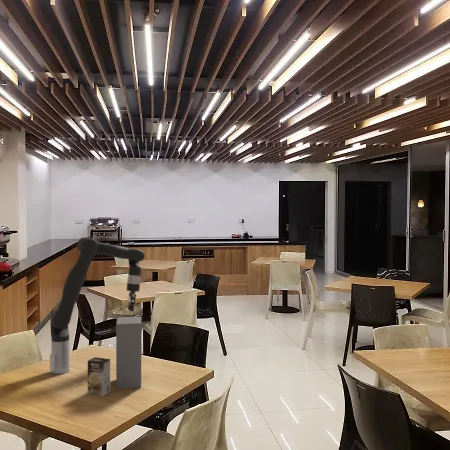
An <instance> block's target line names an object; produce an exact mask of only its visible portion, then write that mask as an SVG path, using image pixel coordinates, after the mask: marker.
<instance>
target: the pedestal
mask: <svg viewBox="0 0 450 450" xmlns="http://www.w3.org/2000/svg"><path fill="white" fill-rule="evenodd" d="M115 328H116V329H115V331H116V333H115V337H116V339H115V341H116V343H115V345H116V348H115V349H116V350H115V354H116V356H115V357H116V360H115V361H116V362H115V363H116V364H115V366H116V367H115V371H116V372H115V375H116V376H115V377H116V380H115V381H116V382H115V383H116V390H123V389H124V390H125V389H126V390H127V389H129V390H130V389H131V390H132V389H141V388H142V316H120V317H117V320H116V325H115Z"/></svg>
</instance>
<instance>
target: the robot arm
mask: <svg viewBox="0 0 450 450" xmlns="http://www.w3.org/2000/svg"><path fill="white" fill-rule="evenodd" d="M76 248H77V250H78V251H79V252H80V253H79V256H78V258H77V261H76V263H75V264H74V265H73V267H72V268H71V269H70V271H69V273H68V275H67V276H66V278H65V282H64V285H63V289H62V297H61V301H60V303H59V307H58V309H57V310H55V311H53V312H52V314H51V316H50V339H51V354H49V372H50V373H51V374H53V375H62V374H66V373H69V372H70V333H69V325H70V322H71V319H72V316H73V312H74V308H75V305H76V302H77V300H78V297H79V295H80V292H81V290H82V288H83V285H84V282H85V281H86V280H85V279H86V276H87V274H88V271H89V268H90V266H91V263H92V262H93V261H92V260H93V259H94V257H95V255H96V254H100V255H105V256H108V257H112V258H116V259H122V260H128V267H129V268H128V277H127V279H126V280H127V282H126V291H127V292H128V300H127V302H128V306H127V307H128V308H127V310H129V312H134V309H135V305H136V299H137V294H136V292H140V287H141V275H142V274H141V273H142V267H141V266H140V265H139V264H140V263H139V262H142V261H143V260H144V259H145V256H146V255H145V252H144V251H143V250H142V249H137V248H130V247H126V246H121V245H116V244H110V243H109V244H108V243H105V242H100V241H97V240H96V239H94V238H92V237H88V236H86V237H81V238H79V240H78V241H77V243H76Z"/></svg>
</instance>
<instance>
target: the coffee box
mask: <svg viewBox="0 0 450 450" xmlns="http://www.w3.org/2000/svg"><path fill="white" fill-rule="evenodd" d="M110 392H111V358H105V357H104V358H103V357H97V356H95V357H94V356H93V358H90V359H89V360H87V394H88V395H92V396H99V397H104V396H106V395H107V394H109V393H110Z"/></svg>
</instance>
